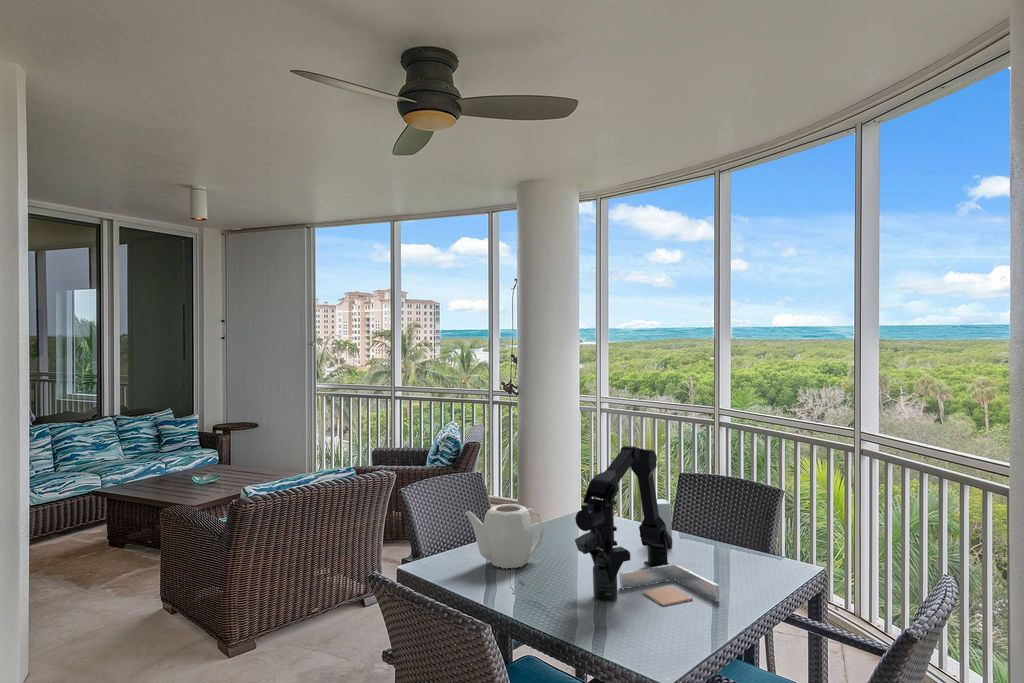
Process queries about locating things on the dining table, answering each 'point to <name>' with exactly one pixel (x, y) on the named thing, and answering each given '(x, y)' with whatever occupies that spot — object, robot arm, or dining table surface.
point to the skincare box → (665, 514)
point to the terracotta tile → (667, 595)
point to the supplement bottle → (603, 581)
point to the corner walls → (670, 573)
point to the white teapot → (506, 535)
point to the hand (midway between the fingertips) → (605, 577)
